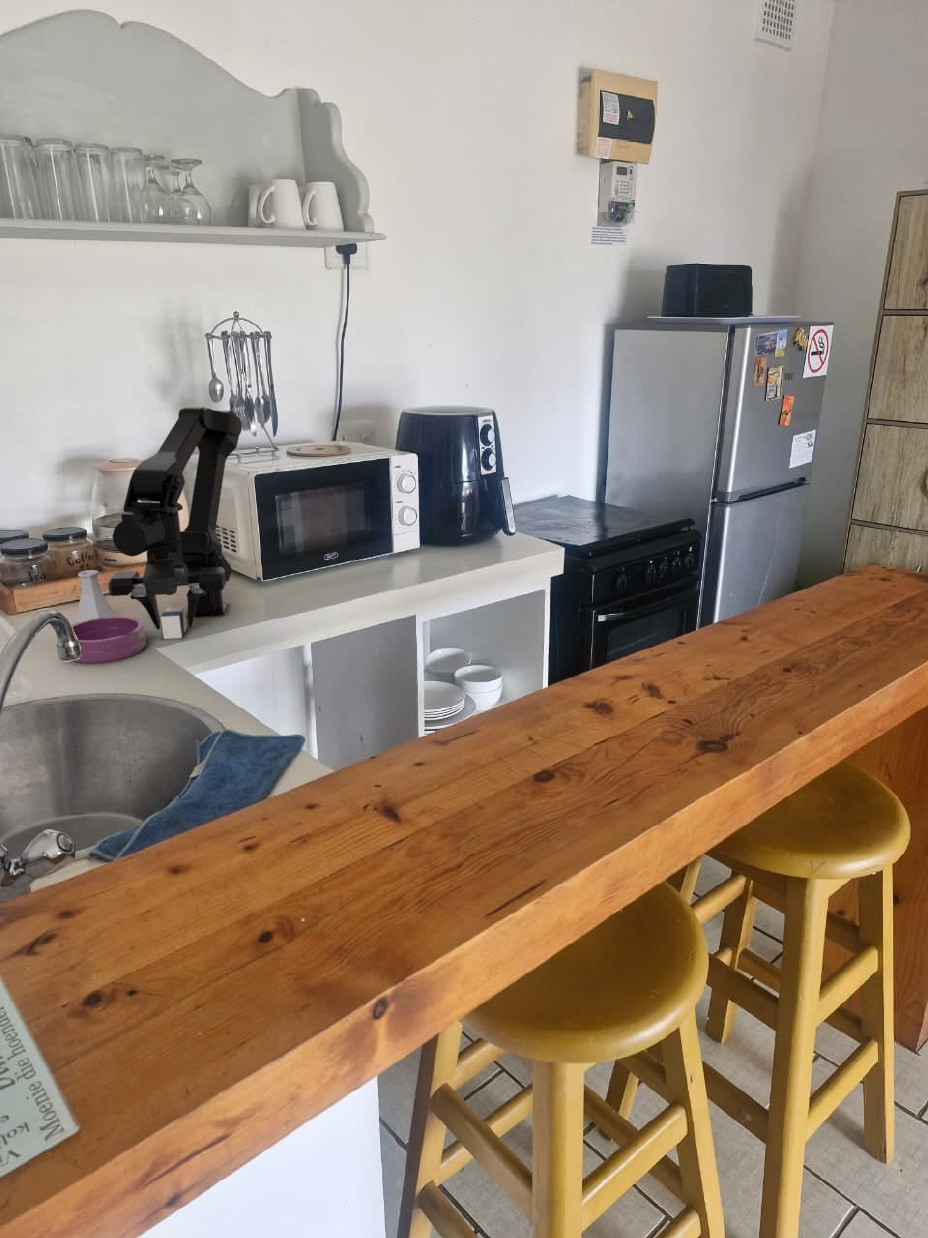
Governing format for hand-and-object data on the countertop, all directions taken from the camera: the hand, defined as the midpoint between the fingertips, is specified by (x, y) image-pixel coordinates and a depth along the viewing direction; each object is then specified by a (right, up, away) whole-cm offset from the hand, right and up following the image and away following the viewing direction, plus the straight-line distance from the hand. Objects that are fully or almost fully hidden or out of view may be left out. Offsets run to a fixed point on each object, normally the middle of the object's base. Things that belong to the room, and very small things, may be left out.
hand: (174, 628), depth 152 cm
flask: (-16, 0, +5) cm, 17 cm away
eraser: (0, -1, 0) cm, 1 cm away
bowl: (-9, -4, -8) cm, 12 cm away
